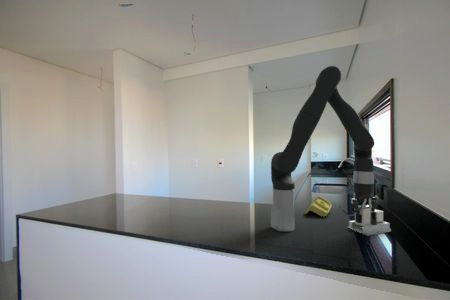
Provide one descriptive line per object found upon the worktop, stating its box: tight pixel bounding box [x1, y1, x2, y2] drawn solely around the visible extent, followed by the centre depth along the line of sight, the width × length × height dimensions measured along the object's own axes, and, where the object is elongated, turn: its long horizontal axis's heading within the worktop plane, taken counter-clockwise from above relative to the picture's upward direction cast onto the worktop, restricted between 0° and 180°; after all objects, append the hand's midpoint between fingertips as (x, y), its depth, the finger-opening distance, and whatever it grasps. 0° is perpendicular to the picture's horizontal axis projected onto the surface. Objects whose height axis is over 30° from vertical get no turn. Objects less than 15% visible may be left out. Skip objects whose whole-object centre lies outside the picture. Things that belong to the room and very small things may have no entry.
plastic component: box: [303, 195, 332, 217], centre depth 127 cm, size 20×7×10 cm
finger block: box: [354, 205, 371, 226], centre depth 97 cm, size 5×4×7 cm
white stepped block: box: [347, 208, 392, 236], centre depth 98 cm, size 14×9×8 cm, turn 112°
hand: (363, 221), depth 97 cm, fingers closed on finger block, 4 cm apart
